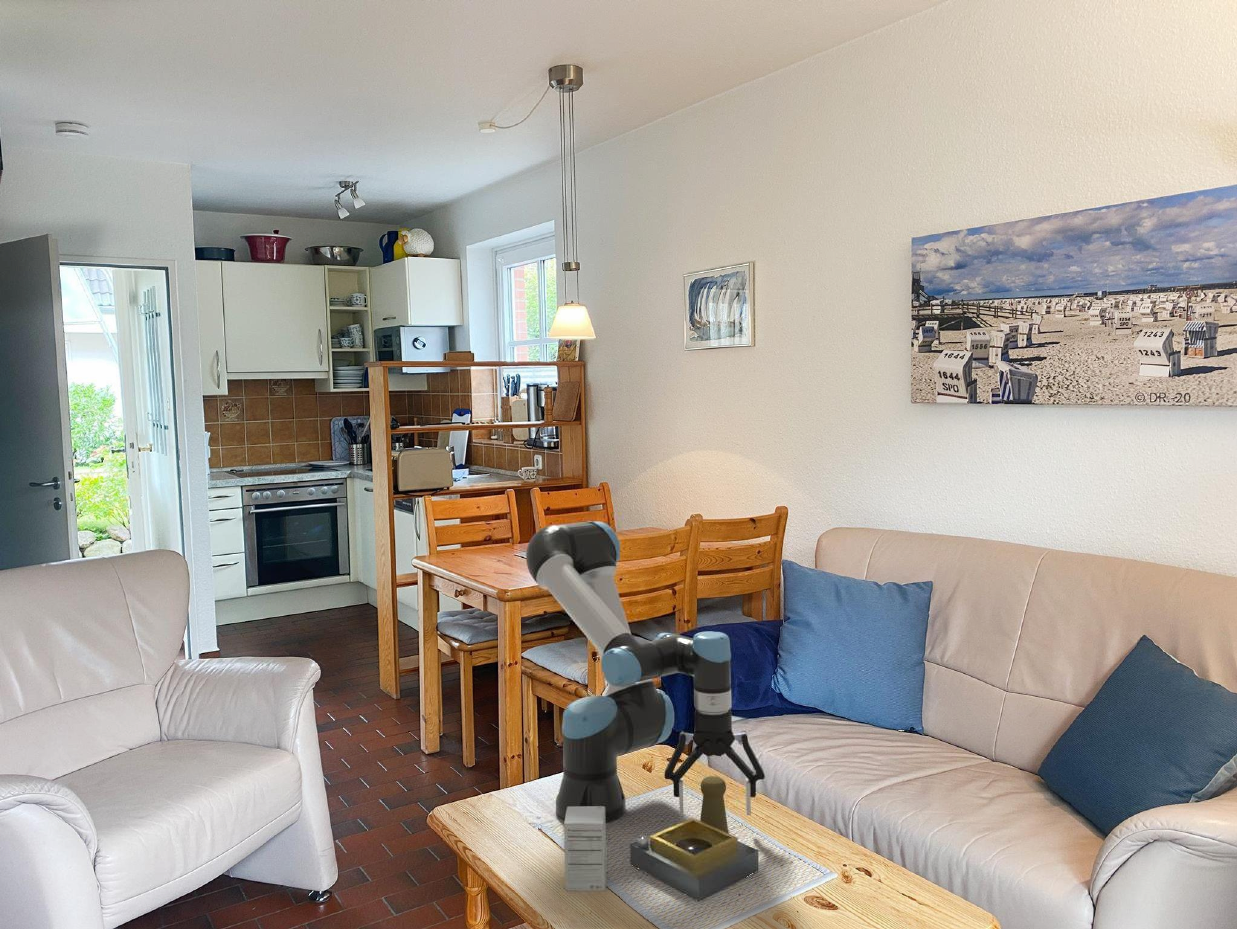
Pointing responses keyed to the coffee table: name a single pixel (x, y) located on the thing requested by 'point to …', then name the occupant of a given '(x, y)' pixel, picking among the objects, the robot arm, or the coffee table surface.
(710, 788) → the olive brown pawn
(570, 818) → the supplement box
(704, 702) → the robot arm
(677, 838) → the grey base with frame
